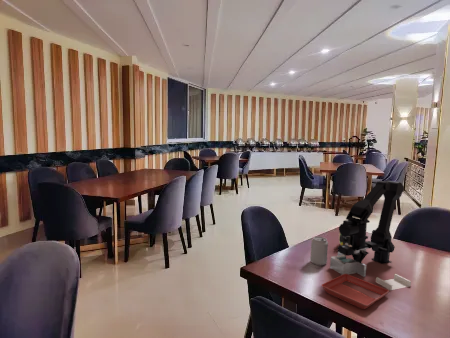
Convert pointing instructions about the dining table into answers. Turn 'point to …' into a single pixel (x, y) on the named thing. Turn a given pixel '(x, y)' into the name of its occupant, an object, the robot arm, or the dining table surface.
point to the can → (319, 251)
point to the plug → (347, 260)
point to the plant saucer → (353, 291)
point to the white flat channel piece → (394, 282)
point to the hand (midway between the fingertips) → (357, 266)
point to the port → (347, 265)
